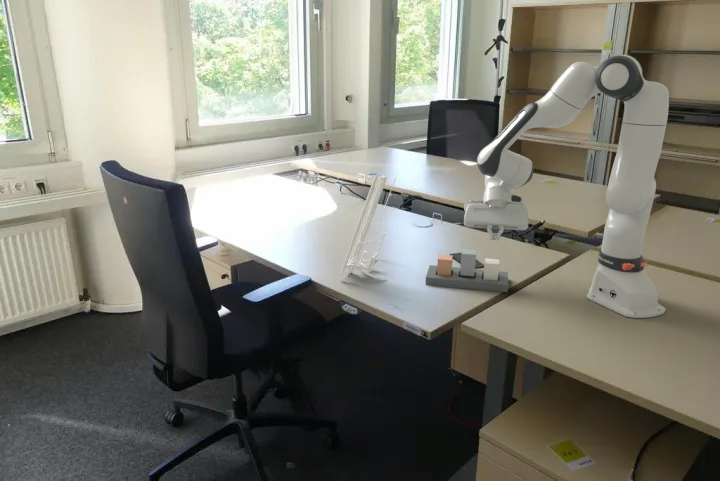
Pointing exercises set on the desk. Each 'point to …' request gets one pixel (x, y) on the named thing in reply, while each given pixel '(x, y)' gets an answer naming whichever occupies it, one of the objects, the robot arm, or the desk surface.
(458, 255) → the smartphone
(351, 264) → the white display easel
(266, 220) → the desk surface
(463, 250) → the key slate
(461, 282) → the keypad base
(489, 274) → the key ivory
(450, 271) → the key terracotta
